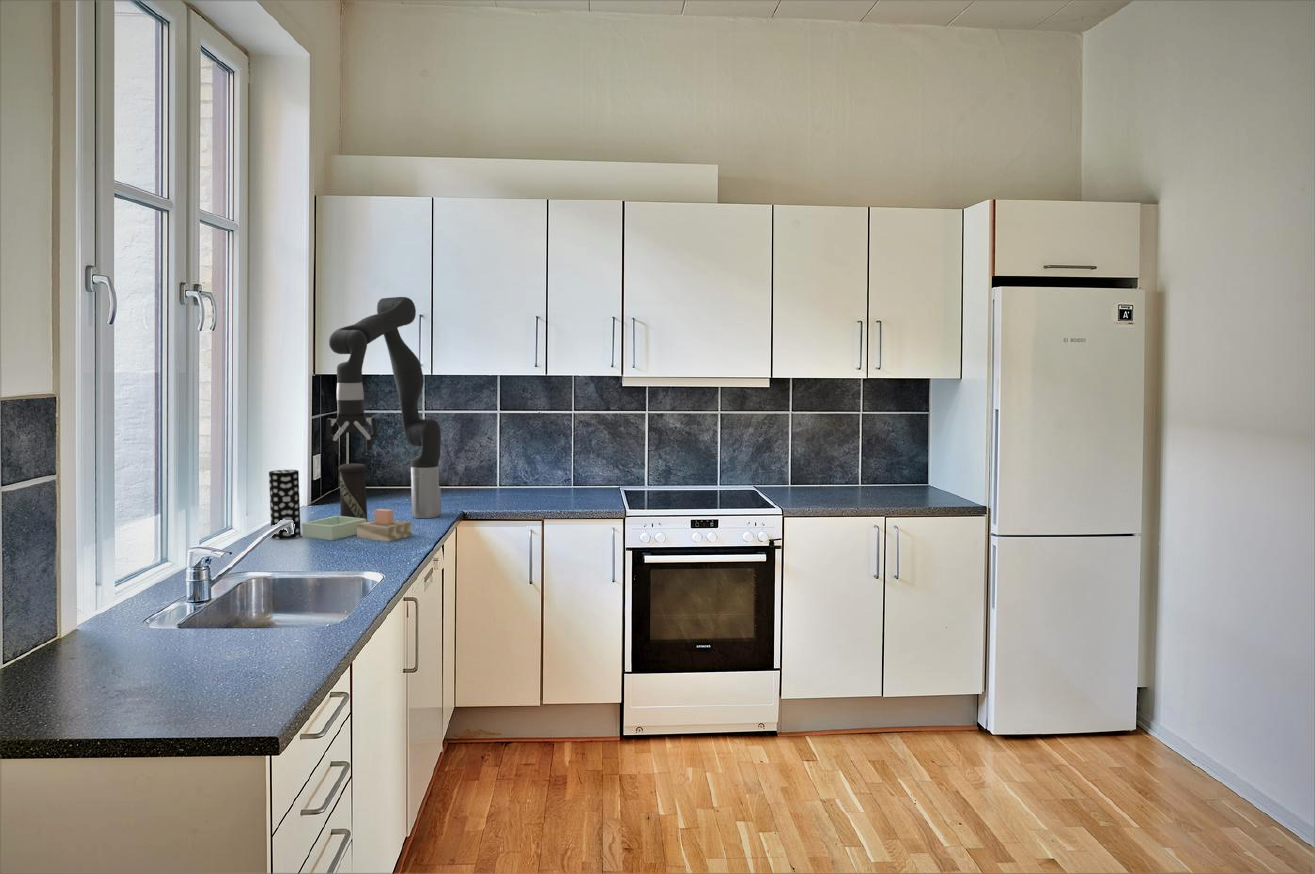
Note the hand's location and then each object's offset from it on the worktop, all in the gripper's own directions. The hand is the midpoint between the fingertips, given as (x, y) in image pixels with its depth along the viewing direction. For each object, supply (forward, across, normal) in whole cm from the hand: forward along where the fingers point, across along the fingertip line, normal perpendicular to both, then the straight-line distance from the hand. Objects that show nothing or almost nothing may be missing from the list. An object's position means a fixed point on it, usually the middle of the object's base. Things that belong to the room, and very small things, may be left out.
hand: (352, 452), depth 272 cm
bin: (+26, +6, -6) cm, 28 cm away
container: (+27, 0, -26) cm, 37 cm away
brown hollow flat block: (+26, -8, +2) cm, 28 cm away
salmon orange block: (+25, -8, +2) cm, 27 cm away
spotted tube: (+26, +20, -12) cm, 35 cm away
